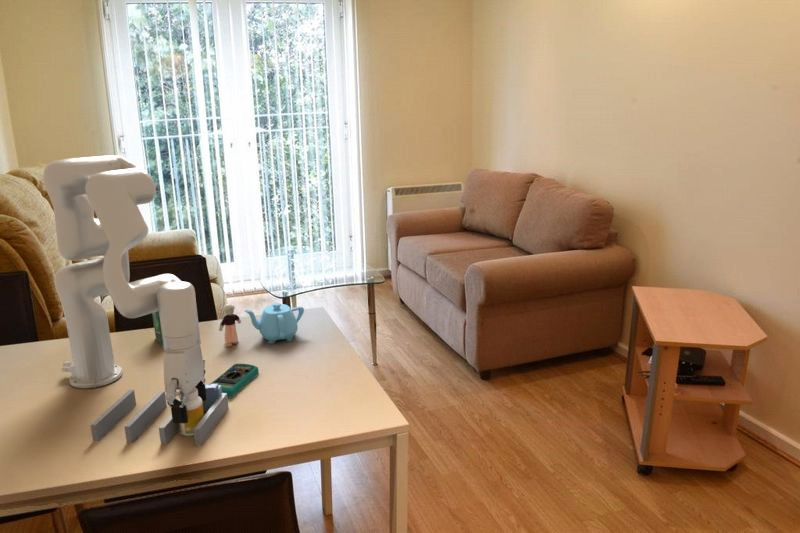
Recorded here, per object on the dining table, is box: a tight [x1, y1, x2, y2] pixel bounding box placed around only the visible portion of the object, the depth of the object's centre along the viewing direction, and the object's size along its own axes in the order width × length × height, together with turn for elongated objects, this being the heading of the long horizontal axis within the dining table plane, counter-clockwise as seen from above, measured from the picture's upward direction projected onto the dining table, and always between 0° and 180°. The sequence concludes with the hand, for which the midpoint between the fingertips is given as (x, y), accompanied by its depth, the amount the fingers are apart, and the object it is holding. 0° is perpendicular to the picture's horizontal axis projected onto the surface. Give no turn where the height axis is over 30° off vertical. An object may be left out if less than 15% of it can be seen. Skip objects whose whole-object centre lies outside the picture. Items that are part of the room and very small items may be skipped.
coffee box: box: [151, 311, 163, 347], centre depth 182 cm, size 8×3×13 cm, turn 34°
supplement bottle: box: [178, 387, 205, 437], centre depth 133 cm, size 5×5×10 cm
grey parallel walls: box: [89, 383, 229, 447], centre depth 136 cm, size 24×16×7 cm, turn 84°
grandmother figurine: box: [218, 303, 242, 348], centre depth 180 cm, size 8×4×13 cm, turn 154°
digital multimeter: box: [208, 363, 259, 399], centre depth 156 cm, size 7×15×3 cm, turn 165°
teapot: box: [243, 302, 305, 344], centre depth 183 cm, size 13×14×11 cm
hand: (190, 410), depth 133 cm, fingers open, 9 cm apart
